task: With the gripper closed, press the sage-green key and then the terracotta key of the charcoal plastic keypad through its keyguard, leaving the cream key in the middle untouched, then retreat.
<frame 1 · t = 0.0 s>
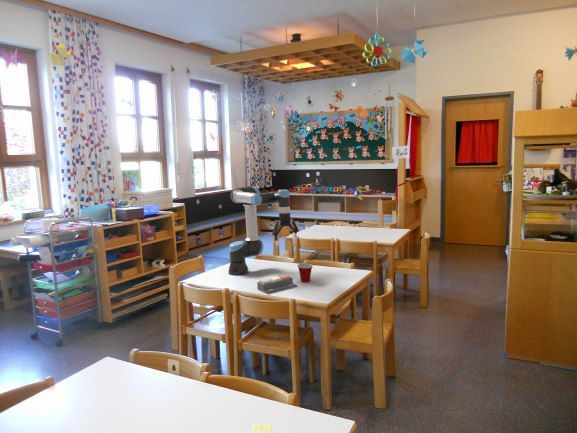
hand: (286, 243, 298), 28 cm above the table, fingers open, 13 cm apart
plastic cup: (305, 281, 304), on the table
cream key: (275, 280, 294), point 5 cm above the table, slide at 0.0 cm
terracotta key: (284, 278, 298), point 5 cm above the table, slide at 0.0 cm
keypad: (275, 287, 295), on the table
sage key: (265, 282, 290), point 5 cm above the table, slide at 0.0 cm
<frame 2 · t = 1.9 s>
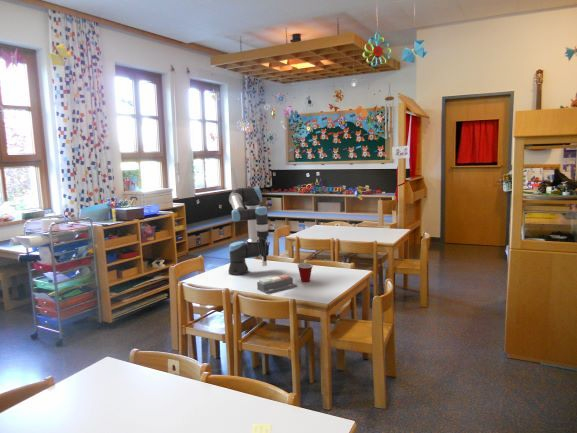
hand: (264, 265, 288), 16 cm above the table, fingers closed
nothing on the table moved.
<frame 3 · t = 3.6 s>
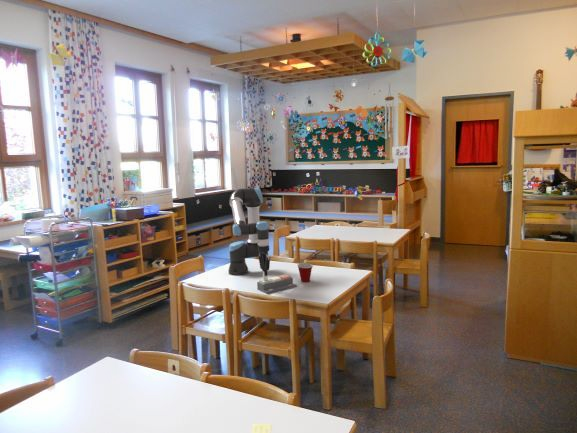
hand: (265, 280, 290), 7 cm above the table, fingers closed
sage key: (265, 282, 290), point 5 cm above the table, slide at 0.1 cm, touching gripper
everything else where it was.
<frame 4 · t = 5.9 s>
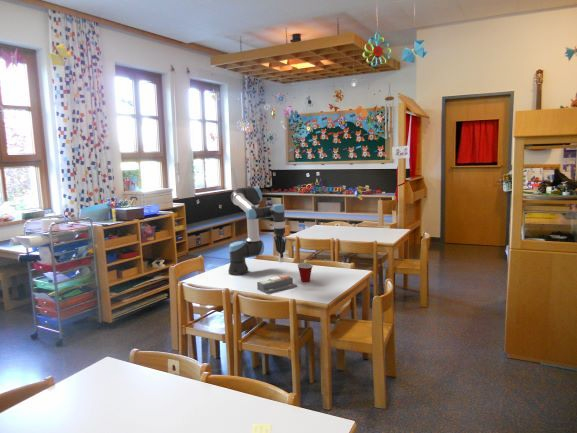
hand: (281, 262, 295), 17 cm above the table, fingers closed
sage key: (265, 283, 290), point 4 cm above the table, slide at 1.0 cm
everything else where it was.
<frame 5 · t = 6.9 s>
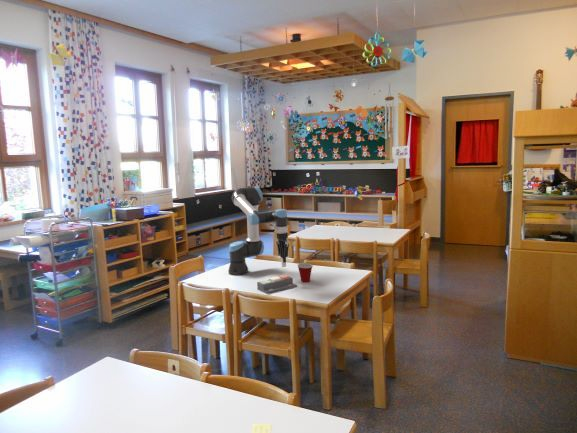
hand: (283, 266, 296), 13 cm above the table, fingers closed
nothing on the table moved.
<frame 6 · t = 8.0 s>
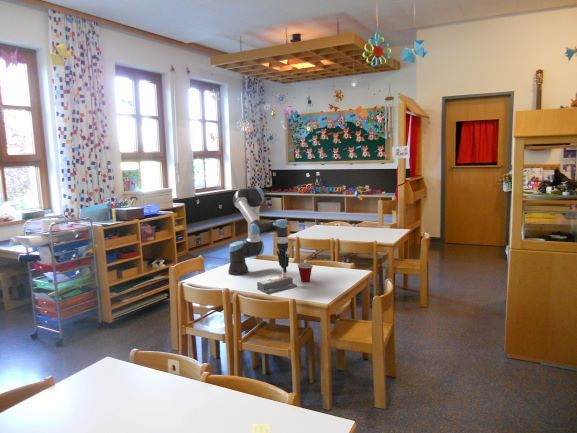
hand: (284, 276, 298), 6 cm above the table, fingers closed
terracotta key: (284, 278, 298), point 4 cm above the table, slide at 0.6 cm, touching gripper
everything else where it was.
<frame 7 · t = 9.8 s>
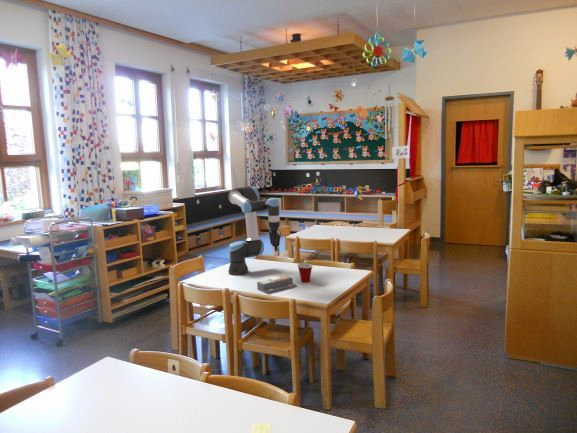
hand: (275, 255, 300), 20 cm above the table, fingers closed
terracotta key: (284, 279, 298), point 4 cm above the table, slide at 0.9 cm
everything else where it was.
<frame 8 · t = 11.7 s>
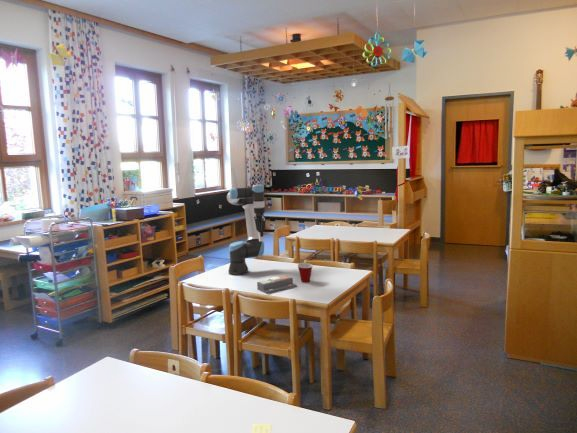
hand: (261, 241, 304), 29 cm above the table, fingers closed
nothing on the table moved.
at the end: sage key slide at 1.0 cm; terracotta key slide at 0.9 cm; cream key slide at 0.0 cm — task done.
